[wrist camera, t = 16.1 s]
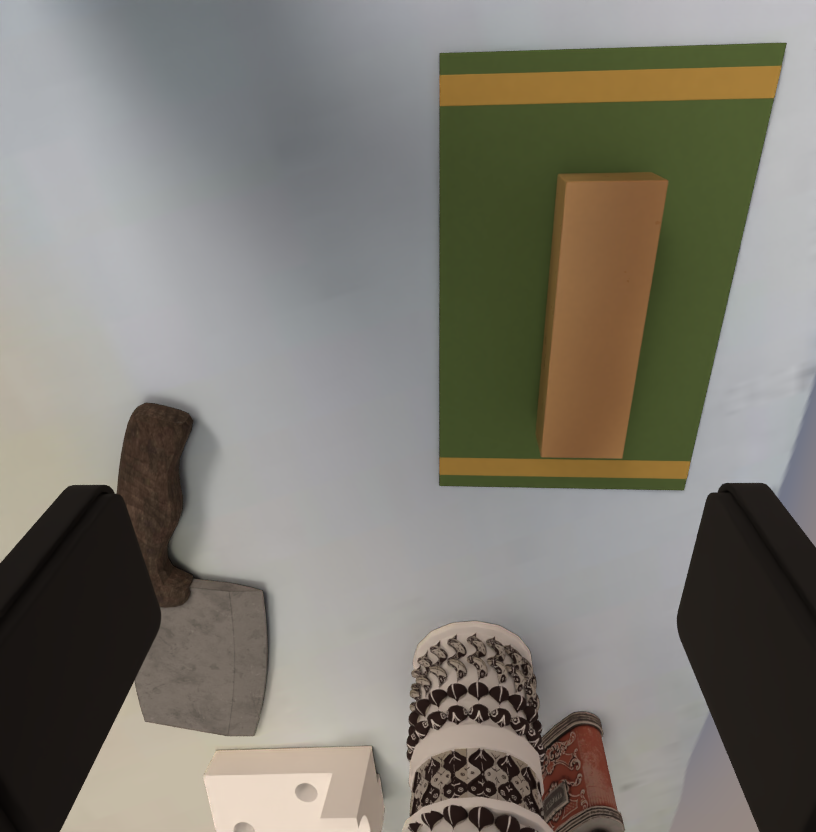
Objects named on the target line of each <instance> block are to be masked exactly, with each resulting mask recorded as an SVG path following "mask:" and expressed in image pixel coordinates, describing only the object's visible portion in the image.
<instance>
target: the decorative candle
mask: <svg viewBox="0 0 816 832" xmlns="http://www.w3.org/2000/svg"><path fill="white" fill-rule="evenodd" d="M413 667H414V670H413V671H412V673H411V674H412V677H414V678H416V683H414V684H412V686H411V688H412V690H411V691H410V696H411V697H412V698H414V699H415V700H416V702H413V703H411V704H410V710H411V711H412V713H411V714H410V716H409V723H410V725H411V726H410V727H409V737H408V739H407V747H408V748H409V749H408V750H407V758H408V760H409V762H410V772H409V786H410V789H411V792H412V797H411V802H410V818H408V819H407V820H406V821H405V824H404V827H403V830H402V832H554V831H553V830H552V829H551V828H550V826H549V825H548V824H547V823H546V822H545V819H544V811H543V803H542V795H543V794H544V787H543V779H542V771H541V768H542V767H543V764H544V759H543V758H544V757H545V747H544V746H543V745H542V744H541V741H542V738H541V735H540V733H541V732H542V725H541V723H540V722H539V721H538V720H537V719H538V709H539V698H538V695H537V694H536V690H535V689H536V684H537V682H536V677H535V675H534V673H533V666H532V660H531V653H530V650H529V649H528V647H527V646H526V645H525V644H524V642H523V641H522V640H521V639H520V637H519V636H517V635H516V634H514V633H512V632H510V631H508V630H506V629H505V628H503V627H501V626H499V625H494V624H489V623H484V622H479V621H469V622H458V623H450V624H448V625H446V626H443V627H441V628H438V629H436V630H434V631H431V632H430V633H429V634H428V635H427V636H426V637H425V638H424V639H423V640H422V641H421V642H420V643H419V644H418V645H417V649H416V652H415V655H414V659H413ZM531 725H532V728H531Z"/></svg>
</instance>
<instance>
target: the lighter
mask: <svg viewBox="0 0 816 832" xmlns="http://www.w3.org/2000/svg"><path fill="white" fill-rule="evenodd" d="M602 736H603V730H602V726H601V722H600V719H599V718H598V717H597V716H595V715H594V714H592V713H588V712H576V713H573V714H571V715H569V716H568V717H566V718H565V719H563V720H562V721H561V722H559V723H558V724H557V725H555V726H554V727H553V728H552V729H551V730H550V731H549V732H548V733H547V734H546V735H545V736H544V737H543V738H542V741H541V744H542V745H543V746H544V747H545V757H544V758H543V759H544V764H543V767H542V768H541V771H542V779H543V787H544V794H543V795H542V803H543V811H544V819H545V822H546V823H547V824H548V825H549V826H550V828H551V829H552V830H553V831H554V832H624V830H625V828H624V824H623V819H622V816H621V813H620V812H619V811H618V810H617V806H616V801H615V797H614V792H613V788H612V783H611V779H610V774H609V770H608V765H607V761H606V756H605V752H604V747H603V743H602Z"/></svg>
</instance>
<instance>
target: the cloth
mask: <svg viewBox="0 0 816 832" xmlns="http://www.w3.org/2000/svg"><path fill="white" fill-rule="evenodd" d="M786 44H787V43H762V44H729V45H696V46H662V47H629V48H596V49H563V50H530V51H496V52H463V53H440V302H439V485H440V486H473V487H527V488H582V489H636V490H684V488H685V484H686V479H687V476H688V471H689V467H690V462H691V457H692V453H693V449H694V444H695V440H696V436H697V431H698V427H699V423H700V418H701V414H702V410H703V405H704V401H705V397H706V392H707V388H708V384H709V379H710V375H711V370H712V366H713V362H714V357H715V353H716V349H717V344H718V340H719V336H720V331H721V327H722V323H723V318H724V314H725V310H726V305H727V301H728V296H729V292H730V288H731V283H732V279H733V275H734V270H735V266H736V262H737V257H738V253H739V249H740V244H741V240H742V236H743V231H744V227H745V223H746V218H747V214H748V209H749V205H750V201H751V196H752V192H753V188H754V183H755V179H756V175H757V170H758V166H759V162H760V157H761V153H762V149H763V144H764V140H765V136H766V131H767V127H768V122H769V118H770V114H771V109H772V105H773V101H774V97H775V93H776V88H777V84H778V80H779V75H780V71H781V67H782V62H783V57H784V53H785V48H786ZM630 172H652V173H654V174H656V175H658V176H660V177H662V178H664V179H667V180H668V181H669V182H668V188H667V194H666V200H665V206H664V212H663V218H662V224H661V230H660V236H659V242H658V248H657V254H656V260H655V266H654V272H653V278H652V284H651V290H650V296H649V302H648V308H647V314H646V320H645V326H644V332H643V338H642V344H641V350H640V356H639V362H638V368H637V374H636V380H635V386H634V392H633V398H632V404H631V410H630V416H629V422H628V428H627V434H626V440H625V446H624V452H623V457H622V458H621V459H619V458H552V457H541V455H540V451H539V446H538V442H537V438H536V421H537V410H538V398H539V386H540V375H541V363H542V351H543V340H544V328H545V316H546V305H547V293H548V281H549V270H550V258H551V246H552V234H553V223H554V211H555V199H556V188H557V176H558V174H570V173H630Z"/></svg>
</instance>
